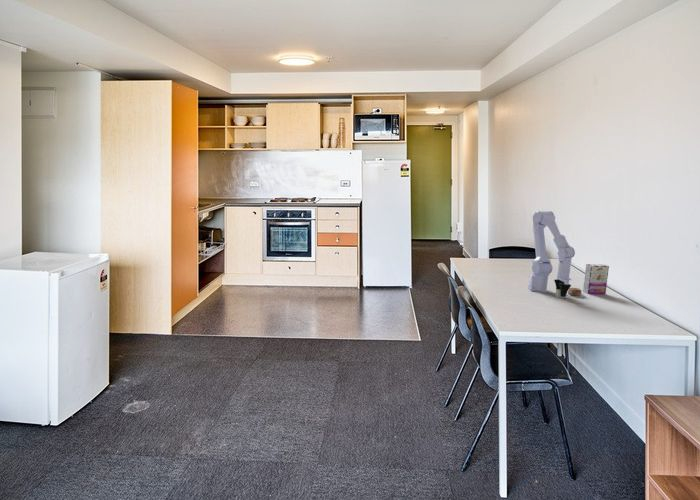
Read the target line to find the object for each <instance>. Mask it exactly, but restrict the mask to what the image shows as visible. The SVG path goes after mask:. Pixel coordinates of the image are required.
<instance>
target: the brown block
mask: <svg viewBox="0 0 700 500" xmlns="http://www.w3.org/2000/svg"><path fill="white" fill-rule="evenodd" d="M568 290H569V291H568V294H569V295H570V296H577V297H576V298H581V294H582V292H583V289H580V288H577V287H570V288H569V289H568Z"/></svg>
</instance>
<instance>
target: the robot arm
mask: <svg viewBox="0 0 700 500" xmlns="http://www.w3.org/2000/svg"><path fill="white" fill-rule="evenodd" d="M532 223H533V224H532V229H533V230H532V231H533V239H534V249H535V258H534V259H533V260H532V266H531V270H532V273H531V274H530V275H529V276H528V277H529V279H528V285H527V286H528V287H527V289H529V290H530V292H543V293H544V292H545V293H549V292H550V291H549V290H548V289H547V288H548V281H549V276H550V274H551V273H553V265H552V262H551V260H550V259H549V257H548V255H547V248H546V238H545V228H546V227H547V228H548V229H549V231H550V232H551V234H552V236H553V242H554V244H555V246H556V248H557V250H558V251H557V256H558V269H557V275H556V279H554V280H553V281H554V284H555V290H556V289H560V294H561V297H565V296H566V294H567V291H568V290H569V288H572V285H571V284H570V281H572V278H571V277H570V274H571V265H572V258H574V257H575V255H576V251H575V248H574V247H573V246H571V245H570V244H569V243H568V241H567V239H566V236H565V235H564V234H561V232H560V229H559V227H558V225H557V222H556V215H555V214H554V211H551V210H549V211H548V210H546V211H545V210H544V211H542V210H541V211H540V210H536V211H535V212H534V213H533V215H532ZM566 297H567V296H566Z"/></svg>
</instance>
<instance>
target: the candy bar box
mask: <svg viewBox="0 0 700 500" xmlns="http://www.w3.org/2000/svg"><path fill="white" fill-rule="evenodd" d="M609 268H610V266H609V265H607V264H603V263H601V264H599V263H598V264H595V263H593V264H591V263H589V264H588V263H587V264H585V272H584V279H583V280H584V282H583V288H582V293H584V294H587V295H606V292H607V285H608V277H609V271H610V270H609Z"/></svg>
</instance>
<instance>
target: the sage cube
mask: <svg viewBox="0 0 700 500" xmlns="http://www.w3.org/2000/svg"><path fill="white" fill-rule="evenodd" d="M555 296H556V297H557V298H560V299H566V298H567V296H565V297H561V294H560V289H556V288H555Z"/></svg>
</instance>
